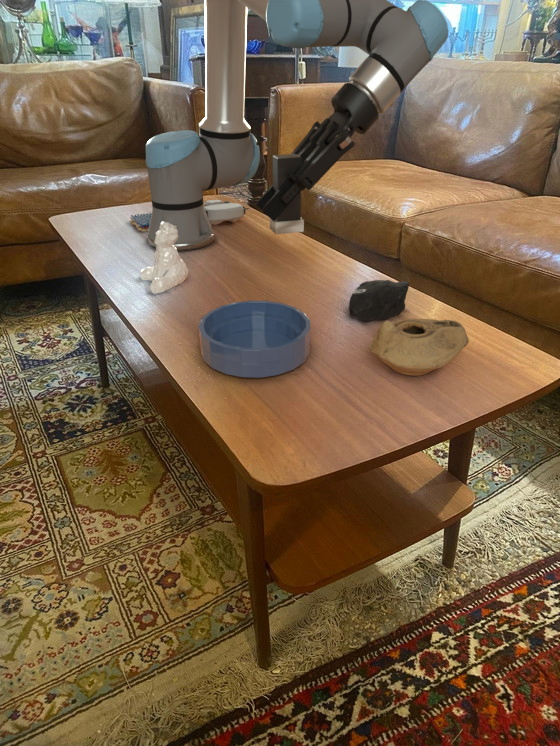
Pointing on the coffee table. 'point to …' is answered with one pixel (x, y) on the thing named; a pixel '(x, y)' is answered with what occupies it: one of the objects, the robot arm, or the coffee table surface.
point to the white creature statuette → (165, 261)
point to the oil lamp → (418, 344)
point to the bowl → (254, 338)
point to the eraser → (292, 213)
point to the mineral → (378, 299)
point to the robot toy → (223, 211)
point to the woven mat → (141, 221)
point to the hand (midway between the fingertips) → (264, 212)
